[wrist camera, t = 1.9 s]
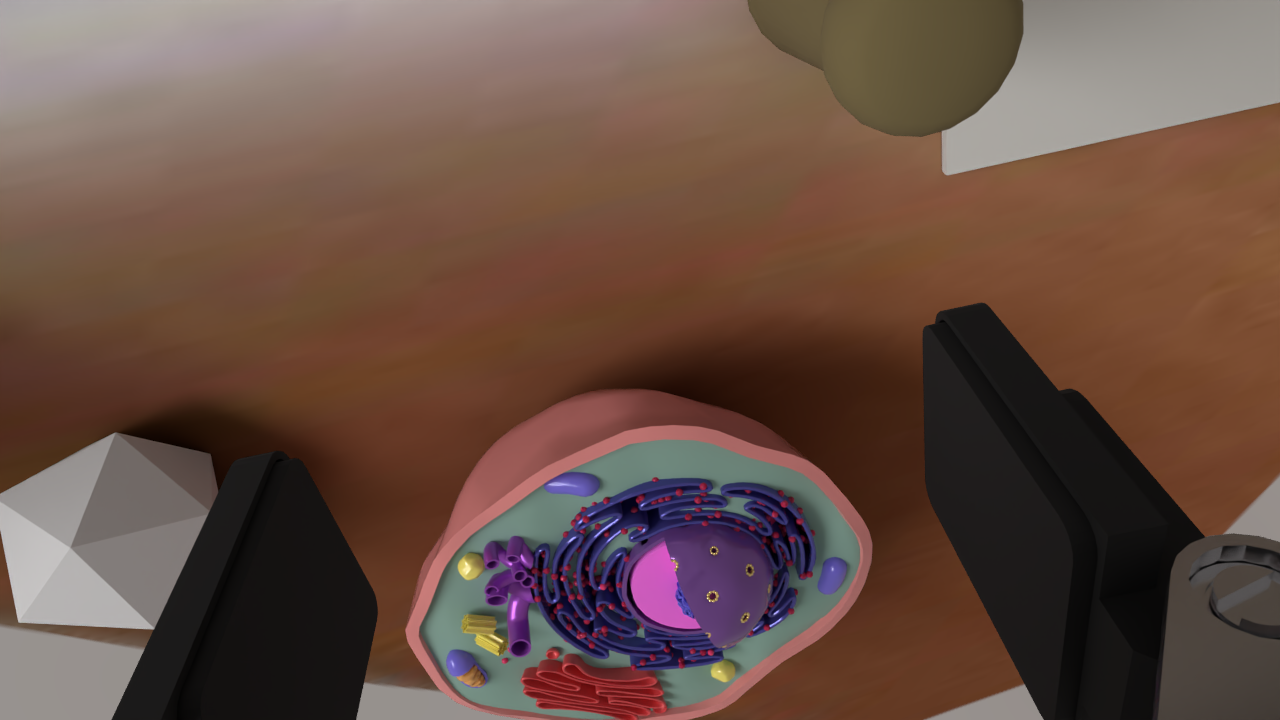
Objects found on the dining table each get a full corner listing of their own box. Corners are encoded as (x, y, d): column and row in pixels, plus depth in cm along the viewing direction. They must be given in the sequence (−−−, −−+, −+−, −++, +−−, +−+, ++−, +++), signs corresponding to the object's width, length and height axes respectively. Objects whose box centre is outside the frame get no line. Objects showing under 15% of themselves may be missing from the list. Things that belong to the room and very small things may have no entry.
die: (117, 354, 38) (-107, 518, 32) (270, 460, 37) (65, 652, 31) (161, 448, 44) (-19, 598, 39) (292, 541, 43) (126, 712, 37)
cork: (724, 42, 32) (792, 146, 23) (773, -144, 29) (874, -107, 20) (876, 74, 33) (999, 186, 24) (939, -101, 30) (1108, -48, 21)
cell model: (347, 441, 41) (286, 640, 31) (737, 251, 37) (800, 411, 28) (535, 643, 50) (531, 844, 40) (866, 505, 46) (946, 693, 36)
